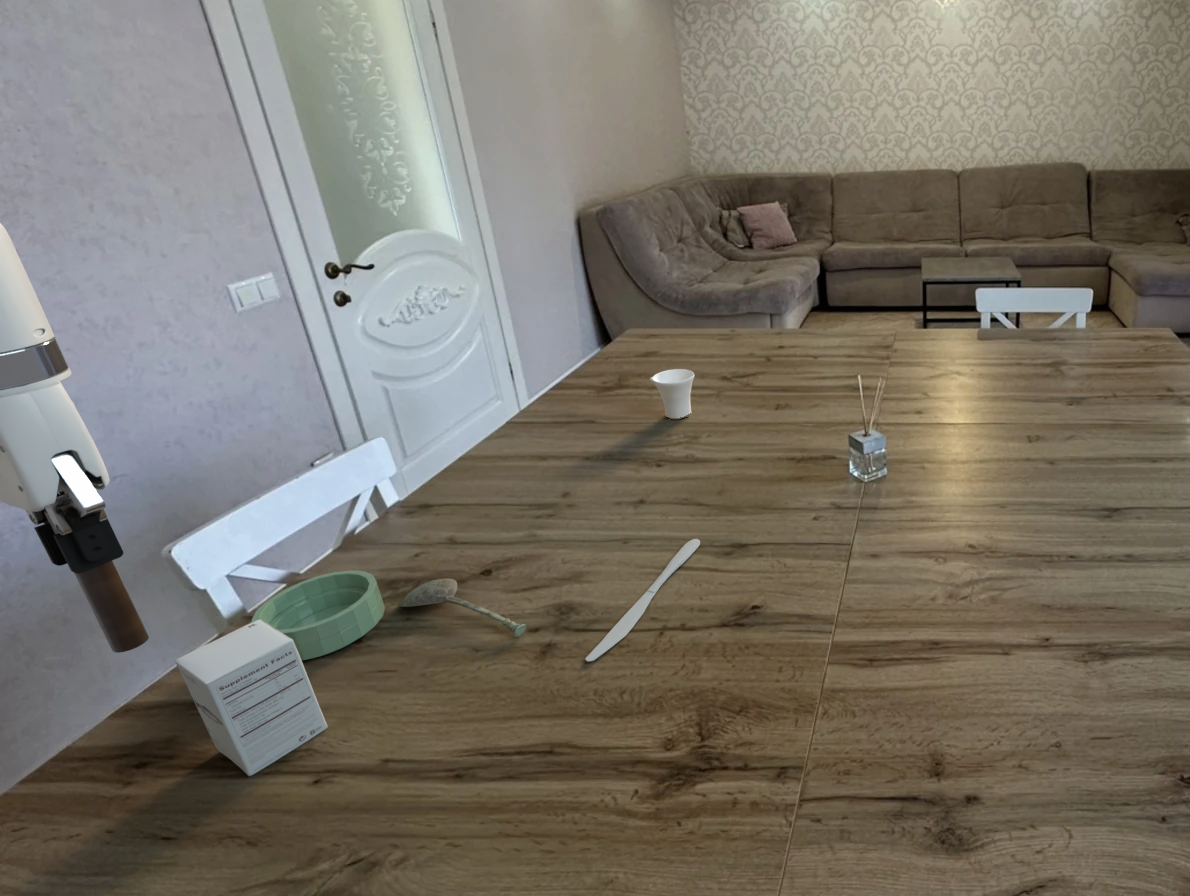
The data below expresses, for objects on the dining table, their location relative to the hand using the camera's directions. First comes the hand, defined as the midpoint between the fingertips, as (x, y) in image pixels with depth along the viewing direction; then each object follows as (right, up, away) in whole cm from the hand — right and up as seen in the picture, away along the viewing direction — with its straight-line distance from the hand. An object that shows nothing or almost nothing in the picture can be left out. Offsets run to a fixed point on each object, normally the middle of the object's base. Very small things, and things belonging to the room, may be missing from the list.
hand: (89, 559), depth 64 cm
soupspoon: (+12, -16, +33) cm, 39 cm away
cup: (+20, +7, +95) cm, 98 cm away
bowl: (-4, -17, +30) cm, 35 cm away
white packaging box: (+4, -24, +14) cm, 28 cm away
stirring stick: (0, -9, +3) cm, 10 cm away
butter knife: (+36, -15, +37) cm, 54 cm away
